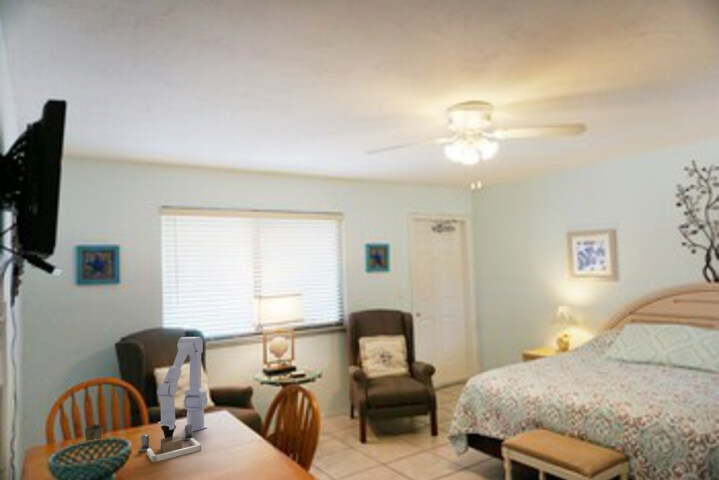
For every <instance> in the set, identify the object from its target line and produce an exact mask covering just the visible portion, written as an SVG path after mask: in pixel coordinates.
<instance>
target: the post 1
mask: <svg viewBox="0 0 719 480" xmlns="http://www.w3.org/2000/svg"><path fill="white" fill-rule="evenodd" d="M140 438H141V440H140V441H141V447H139V448H138V452H139V451H140V453H145V452H146V453H147V449H149V448H151V449H152V450H153V446H152V445H150V434H148V433H145V434H142V435H140Z"/></svg>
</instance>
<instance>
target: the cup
mask: <svg viewBox="0 0 719 480" xmlns="http://www.w3.org/2000/svg"><path fill="white" fill-rule="evenodd" d="M103 433H104V424H103V423H102V424H101V425H100V424H99V423H98V424H97V423H95V424H93V425H90V426H86V427H85V428H84V436H85V439H86V441H87V442H88V440H94V439H100V440H101V439H102V437H103V435H104V434H103Z"/></svg>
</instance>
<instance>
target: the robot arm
mask: <svg viewBox="0 0 719 480" xmlns="http://www.w3.org/2000/svg"><path fill="white" fill-rule="evenodd" d="M176 347H177V354H176V356H175V359H174V361H173V365H171V366H170V367H169V368H168V371H167V373H166V375H165V376H164V377H165V378H164V379H163V381H162V382H161V383H160V384H159V385H158V387H157V390H156V393H157V395H158V399H159V401H160V421H158V422H157V425H159V426H160V428H161V430H162V432H163V436H164V437H163V438H169V437H173V436H174V432H175V429H176V428H177V425H176V404H175V403H176V401H175V400H176V398H175V395H176V394H177V392H178V385H179V383H178V382H179V380H180V377H181V376H182V375H181V374H182V373H183V372H182V366H183V364H184V363H185V361H186V359H187V357H189V389H188V390H187V391H185V393H184V399H183V406H184V409H186V411H187V413H186V425H189V424H191V425H192V432H195V431H200V430H205V429H208V426H207V425H205V410H204V409H205V408H206V407H207V405H208V402H209V401H208V397H207V391H206V390H204V389H203V388H202V353H203V350H204V349H203V348H204V341H203V339H202V337H200V336H185V337H184V336H181V337H180V338H179V339H178V341H177V346H176Z"/></svg>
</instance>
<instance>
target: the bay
mask: <svg viewBox="0 0 719 480" xmlns="http://www.w3.org/2000/svg"><path fill="white" fill-rule="evenodd" d="M189 444H190V445H191V446H188V447H185V448H183V447H182V449H179V450H175V451H171V452H167V453H164V452H162V453H159V454H155V452H154V451H153V448H152V449H151V448H149V449H147V451H146V455H147V456H148V458H149V459H150V461H151V462H152V463H156V462H161V461H164V460H168V459H173V458H176V457H179V456H183V455H187V454H190V453H191V454H192V453H195V452H200V451H202V445H201V444H200V443H199V441H197V440H196V439H194V438H191V439H190V441H189Z"/></svg>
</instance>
